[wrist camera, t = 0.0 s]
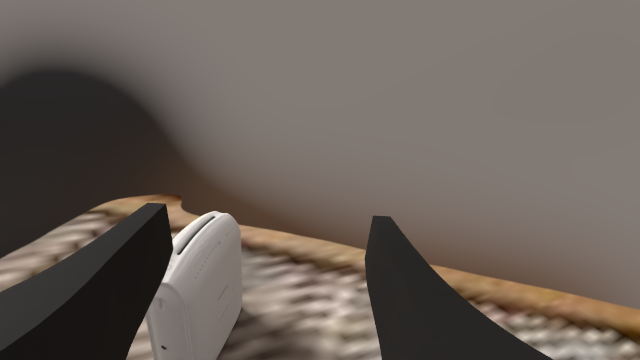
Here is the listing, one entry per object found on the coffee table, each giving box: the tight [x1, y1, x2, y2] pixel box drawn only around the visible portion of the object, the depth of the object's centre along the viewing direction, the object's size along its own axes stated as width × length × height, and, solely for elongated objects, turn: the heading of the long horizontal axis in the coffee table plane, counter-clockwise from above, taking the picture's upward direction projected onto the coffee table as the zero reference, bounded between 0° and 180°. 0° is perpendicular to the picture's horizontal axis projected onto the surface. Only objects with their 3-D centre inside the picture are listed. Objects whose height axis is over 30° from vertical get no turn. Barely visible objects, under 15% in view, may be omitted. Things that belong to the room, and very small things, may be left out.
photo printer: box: [145, 211, 242, 360], centre depth 31 cm, size 10×4×12 cm, turn 168°
